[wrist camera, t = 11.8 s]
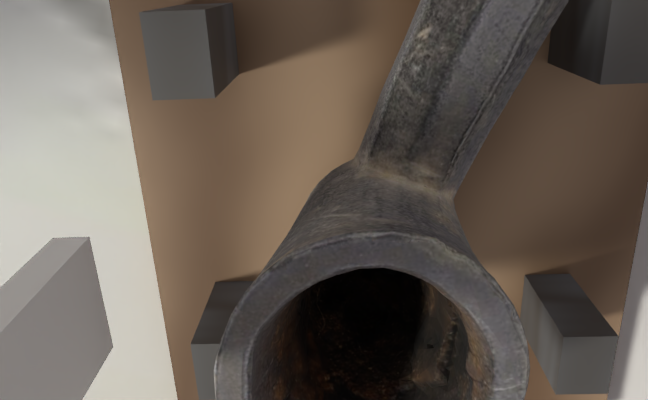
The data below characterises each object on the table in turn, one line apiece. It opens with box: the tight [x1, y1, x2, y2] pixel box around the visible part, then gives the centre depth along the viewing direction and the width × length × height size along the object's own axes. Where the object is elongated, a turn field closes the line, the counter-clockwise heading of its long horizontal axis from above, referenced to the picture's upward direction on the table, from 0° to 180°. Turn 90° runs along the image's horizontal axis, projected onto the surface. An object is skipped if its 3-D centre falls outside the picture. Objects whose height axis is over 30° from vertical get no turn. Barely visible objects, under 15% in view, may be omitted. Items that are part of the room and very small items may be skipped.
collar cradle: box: [109, 0, 648, 400], centre depth 16 cm, size 16×20×4 cm
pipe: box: [214, 0, 569, 400], centre depth 14 cm, size 6×13×8 cm, turn 159°
